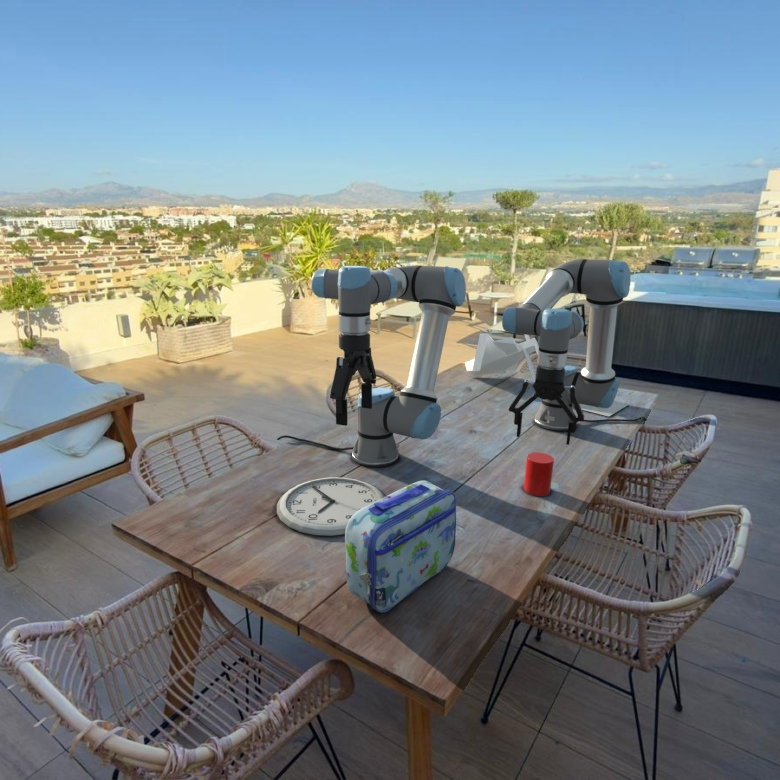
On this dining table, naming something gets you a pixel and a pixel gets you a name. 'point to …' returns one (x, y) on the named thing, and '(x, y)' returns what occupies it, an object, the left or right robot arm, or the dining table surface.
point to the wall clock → (325, 504)
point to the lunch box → (399, 543)
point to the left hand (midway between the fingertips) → (354, 415)
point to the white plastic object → (500, 355)
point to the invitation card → (604, 409)
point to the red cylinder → (538, 474)
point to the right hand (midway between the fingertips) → (542, 439)
